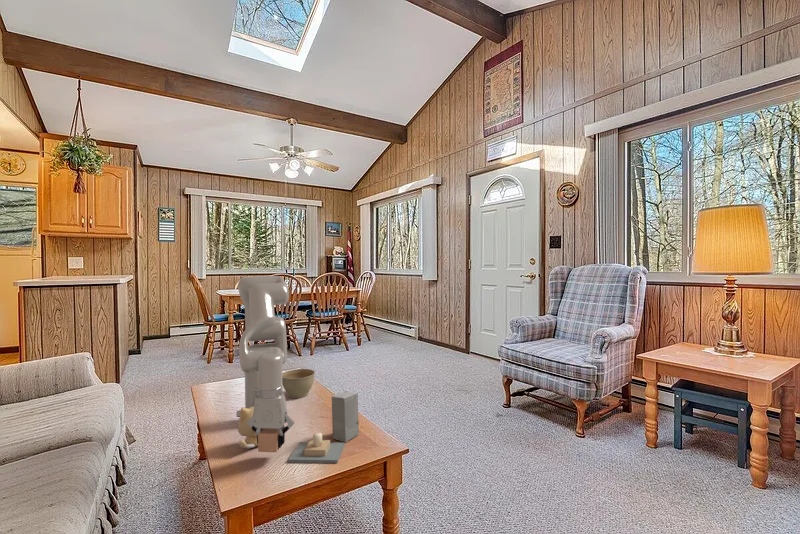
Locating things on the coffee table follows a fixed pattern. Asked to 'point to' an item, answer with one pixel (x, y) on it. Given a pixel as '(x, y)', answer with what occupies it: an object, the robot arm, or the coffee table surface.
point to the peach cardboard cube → (268, 440)
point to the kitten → (246, 428)
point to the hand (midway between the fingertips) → (270, 444)
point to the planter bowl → (298, 382)
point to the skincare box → (345, 416)
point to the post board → (317, 459)
